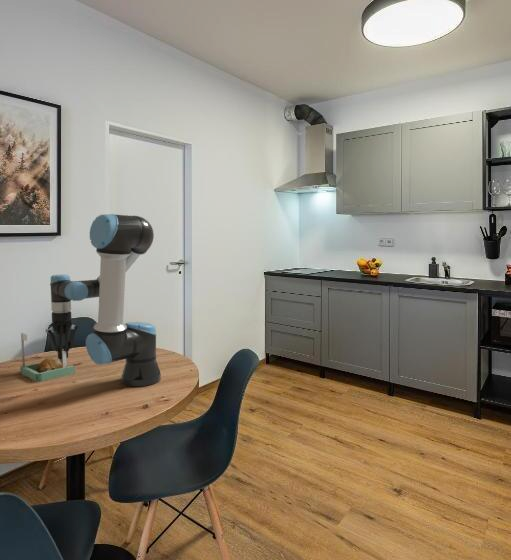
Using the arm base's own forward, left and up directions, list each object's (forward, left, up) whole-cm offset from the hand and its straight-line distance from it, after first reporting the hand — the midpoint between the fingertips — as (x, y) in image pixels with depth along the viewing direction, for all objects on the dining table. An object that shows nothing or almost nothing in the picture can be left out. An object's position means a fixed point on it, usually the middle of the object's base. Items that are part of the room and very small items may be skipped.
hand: (63, 365), depth 178 cm
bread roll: (0, +6, -2) cm, 6 cm away
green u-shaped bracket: (0, +6, -2) cm, 6 cm away
